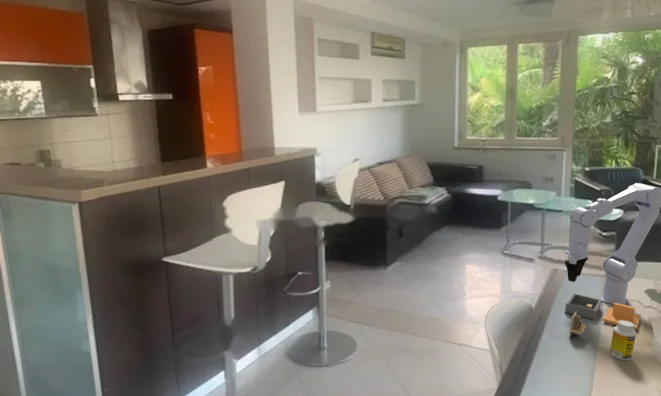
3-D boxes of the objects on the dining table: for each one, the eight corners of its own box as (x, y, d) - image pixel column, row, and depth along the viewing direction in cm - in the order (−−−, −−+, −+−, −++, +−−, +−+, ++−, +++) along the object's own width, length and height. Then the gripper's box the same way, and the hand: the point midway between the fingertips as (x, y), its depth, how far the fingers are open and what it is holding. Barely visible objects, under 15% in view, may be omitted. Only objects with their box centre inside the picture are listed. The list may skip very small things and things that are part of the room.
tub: (572, 302, 181) (573, 293, 181) (600, 309, 176) (601, 300, 175) (564, 312, 172) (566, 303, 171) (593, 320, 167) (595, 310, 166)
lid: (609, 311, 175) (611, 296, 174) (640, 319, 170) (643, 303, 168) (602, 323, 165) (605, 307, 164) (635, 332, 160) (638, 315, 159)
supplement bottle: (625, 363, 140) (631, 329, 138) (605, 354, 145) (611, 321, 143) (635, 357, 143) (641, 324, 141) (615, 349, 148) (621, 317, 146)
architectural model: (584, 336, 156) (588, 314, 155) (580, 344, 151) (583, 321, 149) (572, 332, 158) (576, 311, 157) (567, 340, 153) (571, 318, 151)
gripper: (571, 235, 184) (566, 270, 187) (562, 243, 173) (557, 280, 175) (592, 239, 180) (587, 274, 183) (584, 248, 169) (579, 286, 171)
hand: (574, 278), depth 179 cm, fingers open, 7 cm apart
